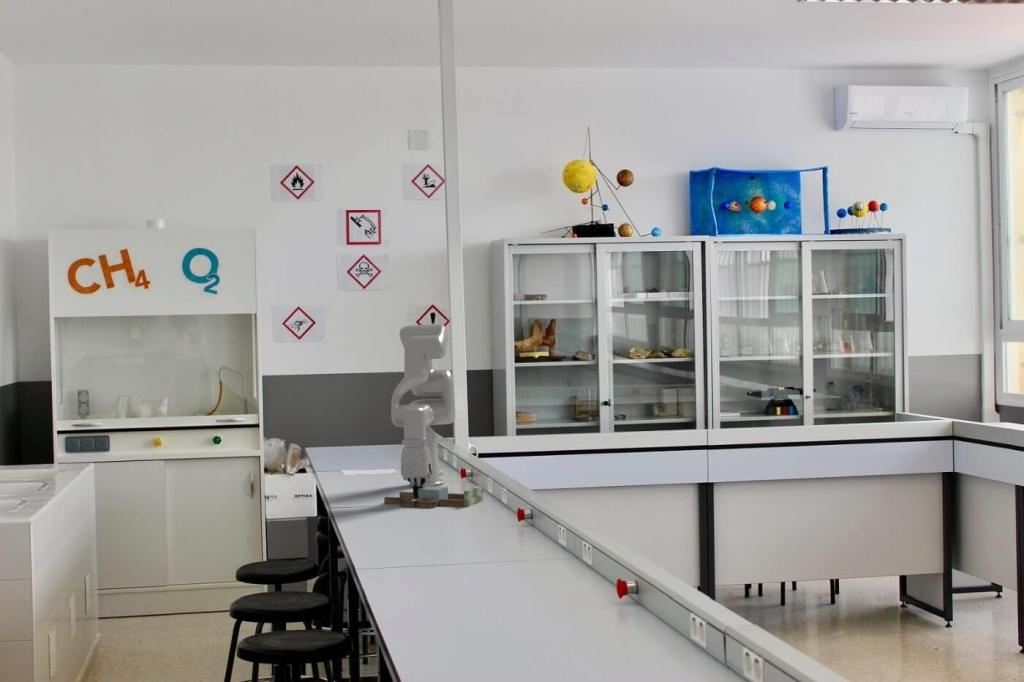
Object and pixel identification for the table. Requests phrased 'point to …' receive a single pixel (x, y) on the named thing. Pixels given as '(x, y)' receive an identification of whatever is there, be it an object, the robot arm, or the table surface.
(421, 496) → the slate block
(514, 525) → the table surface
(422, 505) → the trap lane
